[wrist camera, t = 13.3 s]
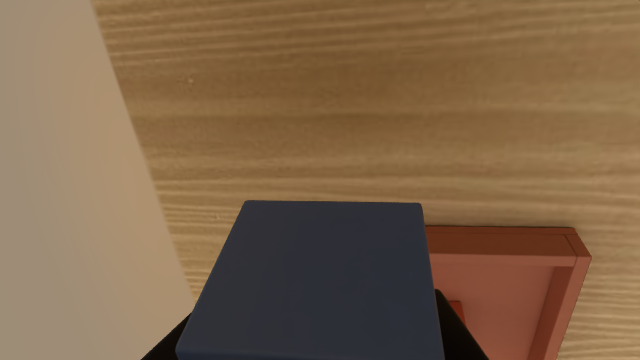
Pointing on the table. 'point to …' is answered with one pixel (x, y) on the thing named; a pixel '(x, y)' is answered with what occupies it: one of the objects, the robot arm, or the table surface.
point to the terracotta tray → (511, 284)
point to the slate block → (319, 286)
